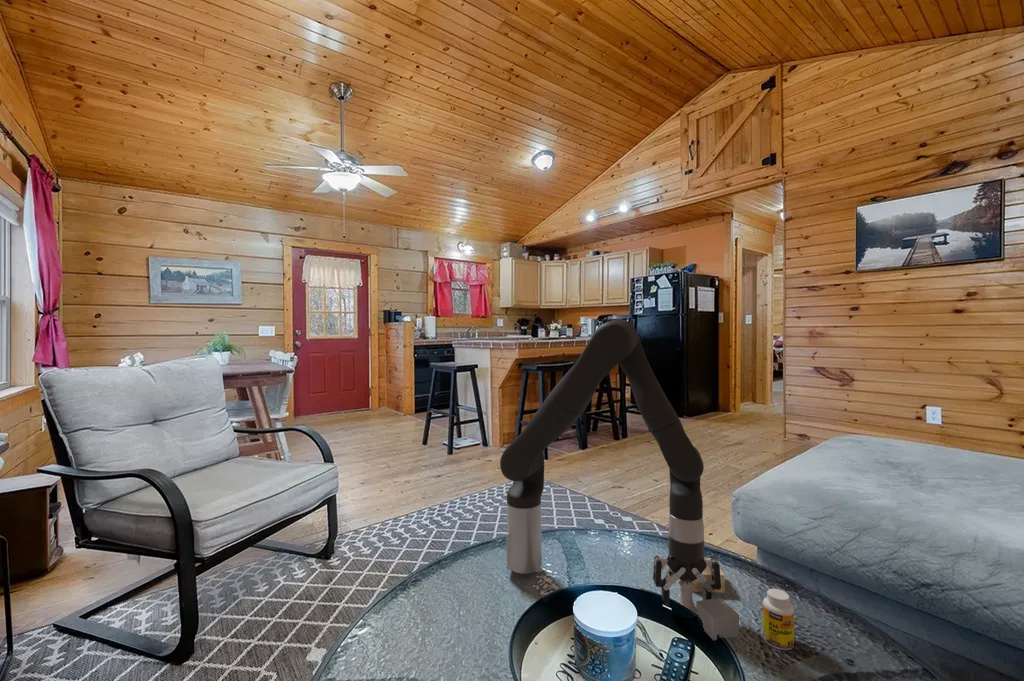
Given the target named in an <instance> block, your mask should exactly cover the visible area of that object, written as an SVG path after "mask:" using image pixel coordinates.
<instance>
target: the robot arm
mask: <svg viewBox="0 0 1024 681" xmlns="http://www.w3.org/2000/svg"><path fill="white" fill-rule="evenodd" d="M617 365H619V367H620V368H621V370H622V371H623V372H624V375H625V376H626V377H625V378H626V379H627V380H628V383H629V385H630V388H631V391H632V396H633V397H634V400H635V403H636V406H637V409H638V410H639V414H640V415H641V417H642V420H643V421H644V423H645V425H646V427H647V428H648V430H649V432H650V434H651V435H652V436H653V438H654V439H655V441H656V442H657V443H656V444H657V445H658V446H659V449H660V451H661V454H662V456H663V459H664V460H665V462H666V464H667V466H668V470H669V471H668V472H669V484H670V486H669V487H670V489H669V498H668V500H669V501H668V502H669V506H668V507H669V514H668V516H669V517H668V524H667V525H668V527H667V532H668V556H667V557H666V558H661V557H660V556H658V555H655V556H654V558H653V569H652V570H653V574H652V580H653V582H654V585H655V587H657V588H661V599H662V602H663V603H664V604H665V606H667V607H670V605H671V601H670V600H671V599H670V598H671V597H670V596H671V590H670V588H671V587H672V586H673V585H674V584H676V583H677V581H680V580H690V581H695V580H696V579H697V578H698V580H699V581H700V582H701V583H702V585H703V586H704V587H703V592H702V600H709V599H713V595H712V593H713V592H712V591H713V590H715V589H717V590H720V589H721V578H720V569H721V566H720V564H719V562H718V561H717V559H716V558H715V557H711V560H704V558H705V524H704V518H703V514H704V513H703V512H704V510H703V509H704V508H703V507H704V506H703V504H704V503H703V495H702V491H701V477H702V475H703V473H704V468H705V465H704V461H703V459H702V455H701V454H700V452H699V450H698V449H697V448H696V447H695V446H694V445H693V443H692V442H691V440H690V439H689V436H688V435H687V433H686V431H685V429H684V426H683V423H682V422H681V419H680V418H679V416H678V414H677V413H676V411H675V409H674V407H673V406H672V404H671V402H670V400H669V399H668V396H667V395H666V393H665V391H664V390H663V388H662V386H661V384H660V383H659V380H658V379H657V377H656V374H655V373H654V371H653V369H652V367H651V365H650V363H649V360H648V358H647V356H646V354H645V350H644V348H643V345H642V341H641V340H640V337H639V334H638V332H637V329H636V328H635V326H634V325H633V324H632V323H631V322H630V321H627V320H625V319H619V318H618V319H617V318H616V319H612V320H609V321H607V322H604V323H602V324H600V325H599V326H598V327H597V328H596V330H595V331H593V333H592V335H591V337H590V339H589V341H588V343H587V345H585V347H584V349H583V351H582V352H581V354H580V356H579V357H578V359H577V360H576V362H575V363H574V364H573V365H572V367H571V368H570V369H569V370H568V371H567V372H566V373H565V374H564V375H563V376H562V378H560V380H559V382H558V383H557V384H556V385H555V386H554V387H553V388H552V389H551V391H550V392H549V394H548V395H547V397H546V398H545V399H544V401H543V402H542V404H541V405H540V407H539V408H538V409H537V411H536V412H535V414H534V415H533V417H532V418H531V419H530V421H529V422H528V423H527V425H526V426H525V428H524V429H523V430H522V432H520V434H519V435H518V436H517V437H516V438H514V440H513V441H512V442H511V443H510V444H509V445H508V446H507V447H506V448H504V451H503V452H502V454H501V457H500V462H499V467H500V471H501V474H502V476H503V477H504V478H506V479H508V480H509V481H513V483H512V484H511V485H510V487H509V489H508V490H507V493H506V519H507V520H506V523H507V524H506V528H507V531H506V534H505V537H506V539H505V540H506V541H505V542H506V549H505V550H506V551H505V552H506V570H507V571H508V570H509V571H513V572H514V573H517V574H522V575H523V574H525V575H526V574H533V573H535V572H537V571H539V570H540V569H541V568H542V566H543V562H542V561H543V556H542V554H543V551H542V550H543V549H542V546H543V545H542V543H543V542H542V495H543V492H544V488H545V456H544V453H543V452H544V451H545V450H546V448H547V447H549V446H550V445H551V444H553V443H554V441H556V440H557V439H558V438H560V437H561V436H562V435H563V434H565V432H567V431H568V430H569V429H570V428H571V427H572V426H573V425H574V424H575V423H576V422H577V420H578V419H579V418H580V417H581V415H582V414H583V413H584V411H586V408H587V407H588V405H589V404H590V402H591V400H592V399H593V397H594V395H595V392H596V390H597V389H598V387H599V385H600V383H602V381H603V380H604V378H605V377H607V375H608V374H609V373H610V372H611V371H612V370H613V369H614V368H616V366H617ZM665 566H668V569H667V571H666V573H665V575H664V577H663V578H662V570H664V569H665ZM706 566H707V567H708V568H709V569H710V571H711V577H712V581H709V582H708V581H707V579H706V578H705V577H704V575H703V574H702V572H703V571H704V570H705V568H706Z"/></svg>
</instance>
